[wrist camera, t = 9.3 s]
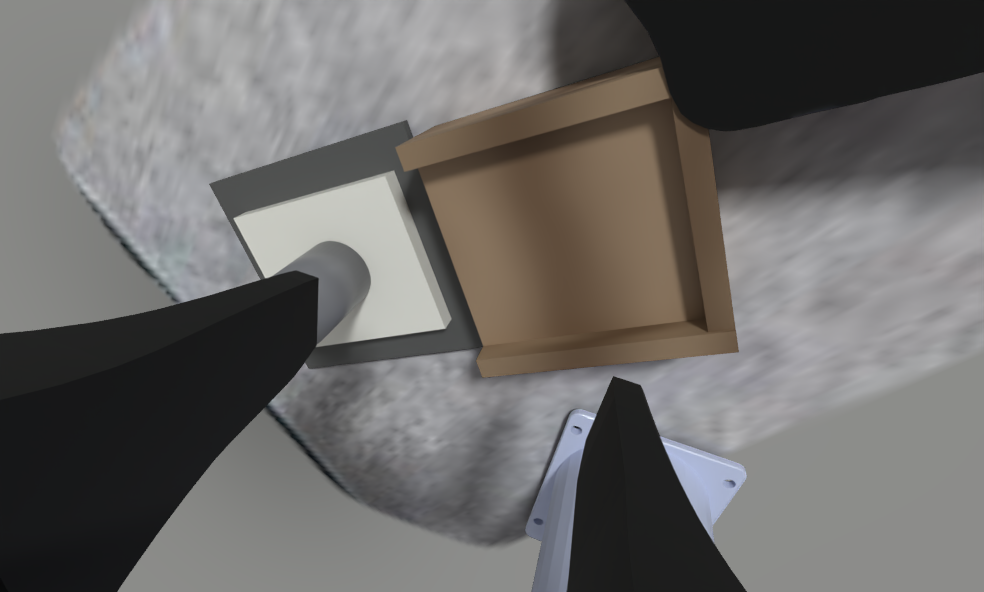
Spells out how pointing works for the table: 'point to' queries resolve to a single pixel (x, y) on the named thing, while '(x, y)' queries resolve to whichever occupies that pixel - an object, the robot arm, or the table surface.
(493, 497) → the table surface
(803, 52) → the black sponge
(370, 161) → the rubber mat
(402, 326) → the cover plate
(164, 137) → the table surface
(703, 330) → the walnut case
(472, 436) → the table surface
